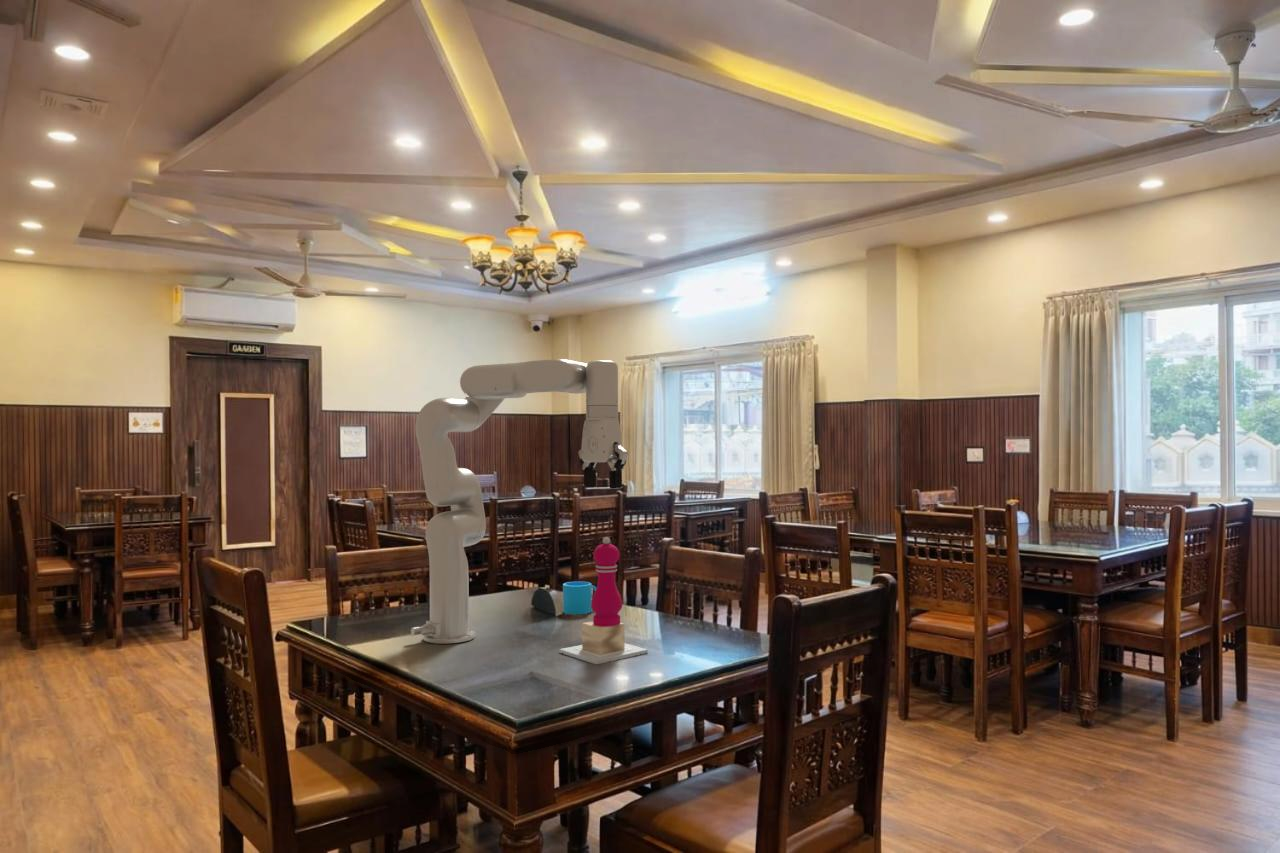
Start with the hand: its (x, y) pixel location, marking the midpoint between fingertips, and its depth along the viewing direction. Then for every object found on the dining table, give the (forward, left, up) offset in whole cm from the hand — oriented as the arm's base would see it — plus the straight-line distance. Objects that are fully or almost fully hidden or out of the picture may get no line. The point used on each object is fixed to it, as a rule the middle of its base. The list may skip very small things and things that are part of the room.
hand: (602, 487), depth 197 cm
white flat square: (0, 0, -38) cm, 38 cm away
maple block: (0, 0, -38) cm, 38 cm away
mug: (+25, +42, -39) cm, 62 cm away
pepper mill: (0, -1, -32) cm, 32 cm away
